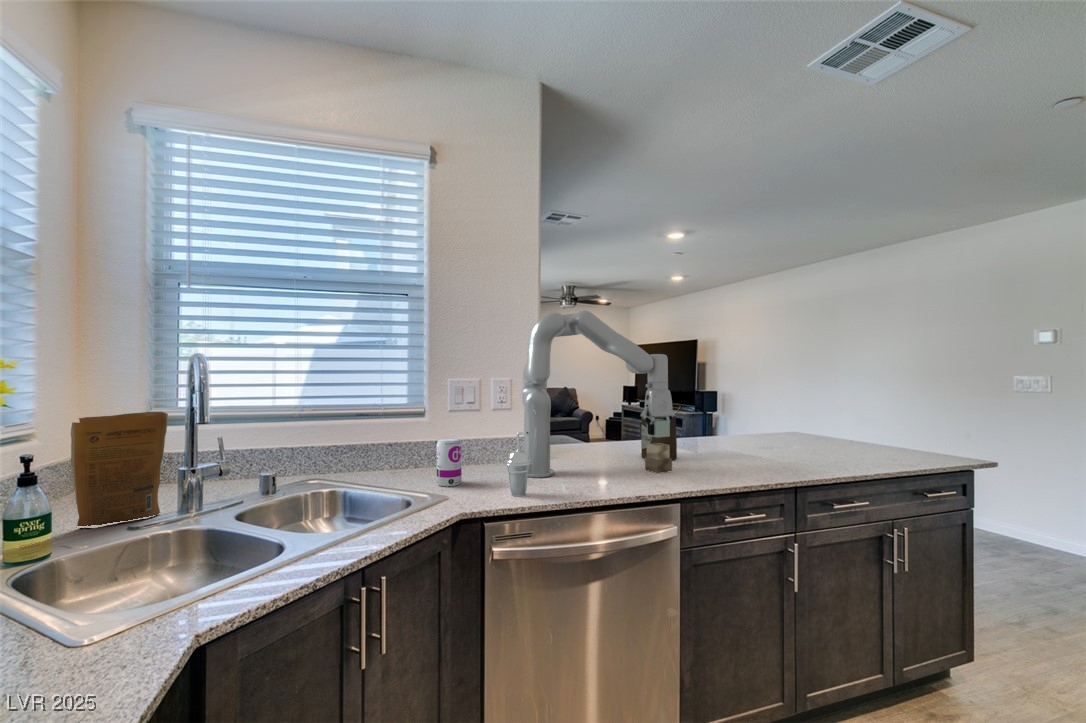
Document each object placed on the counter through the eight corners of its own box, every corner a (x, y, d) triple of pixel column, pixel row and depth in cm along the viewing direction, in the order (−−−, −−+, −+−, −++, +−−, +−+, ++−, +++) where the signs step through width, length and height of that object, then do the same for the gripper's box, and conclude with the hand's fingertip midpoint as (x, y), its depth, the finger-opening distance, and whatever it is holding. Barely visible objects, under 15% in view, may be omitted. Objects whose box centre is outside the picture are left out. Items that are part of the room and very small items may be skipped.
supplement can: (466, 483, 165) (466, 439, 165) (446, 488, 159) (446, 442, 159) (451, 480, 170) (451, 437, 171) (431, 484, 164) (431, 439, 165)
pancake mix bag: (170, 516, 130) (170, 411, 130) (70, 535, 116) (70, 417, 116) (165, 511, 134) (165, 410, 135) (68, 528, 120) (69, 415, 121)
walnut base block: (656, 473, 180) (656, 460, 180) (645, 470, 187) (645, 457, 187) (671, 471, 183) (671, 458, 183) (659, 468, 190) (659, 455, 190)
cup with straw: (530, 490, 156) (529, 427, 156) (534, 498, 147) (534, 431, 147) (503, 491, 154) (503, 428, 154) (506, 499, 145) (506, 432, 145)
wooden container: (640, 454, 218) (640, 405, 218) (674, 455, 216) (674, 405, 216) (642, 461, 204) (642, 408, 204) (679, 461, 202) (678, 408, 202)
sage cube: (656, 437, 181) (656, 421, 181) (647, 435, 187) (646, 419, 187) (669, 436, 184) (669, 420, 184) (659, 434, 189) (659, 418, 189)
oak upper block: (657, 459, 181) (657, 446, 181) (646, 457, 186) (646, 444, 186) (669, 458, 184) (669, 445, 184) (658, 455, 189) (658, 442, 189)
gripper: (645, 387, 178) (645, 437, 178) (682, 386, 186) (682, 433, 185) (633, 386, 185) (633, 434, 185) (669, 385, 192) (670, 431, 192)
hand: (658, 433), depth 185 cm, fingers closed on sage cube, 6 cm apart
